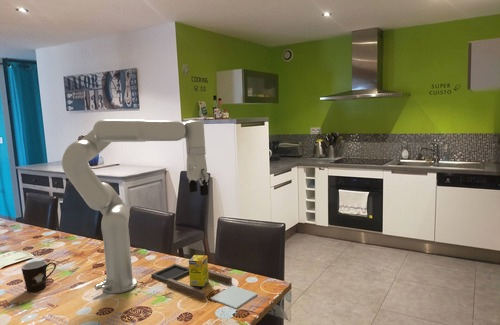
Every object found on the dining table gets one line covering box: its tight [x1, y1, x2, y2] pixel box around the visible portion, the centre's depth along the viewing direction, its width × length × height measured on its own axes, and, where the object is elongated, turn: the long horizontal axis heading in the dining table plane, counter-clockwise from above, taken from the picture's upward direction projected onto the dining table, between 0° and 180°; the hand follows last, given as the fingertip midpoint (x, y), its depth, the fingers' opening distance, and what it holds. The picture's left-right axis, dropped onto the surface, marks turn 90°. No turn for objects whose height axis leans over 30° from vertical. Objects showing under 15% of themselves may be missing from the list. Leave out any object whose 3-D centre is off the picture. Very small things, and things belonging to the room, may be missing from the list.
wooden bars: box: [166, 269, 233, 301], centre depth 140 cm, size 16×20×2 cm
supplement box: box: [188, 254, 210, 289], centre depth 140 cm, size 6×6×11 cm
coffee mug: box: [20, 260, 57, 294], centre depth 142 cm, size 12×9×10 cm
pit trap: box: [151, 263, 189, 284], centre depth 151 cm, size 13×11×1 cm
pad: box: [210, 284, 258, 310], centre depth 129 cm, size 12×12×1 cm
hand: (198, 193), depth 145 cm, fingers open, 9 cm apart
